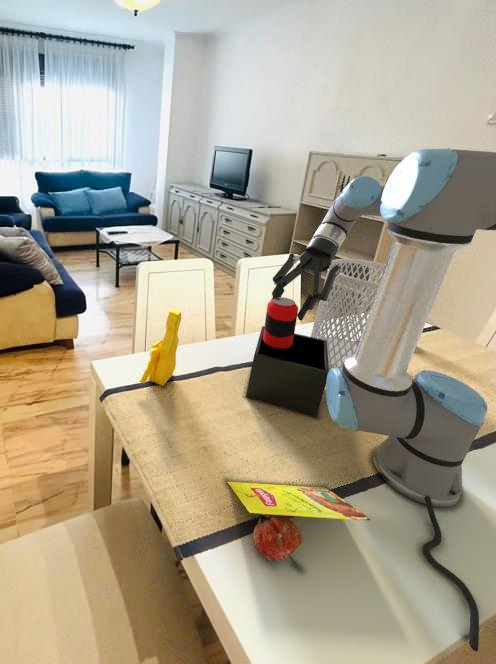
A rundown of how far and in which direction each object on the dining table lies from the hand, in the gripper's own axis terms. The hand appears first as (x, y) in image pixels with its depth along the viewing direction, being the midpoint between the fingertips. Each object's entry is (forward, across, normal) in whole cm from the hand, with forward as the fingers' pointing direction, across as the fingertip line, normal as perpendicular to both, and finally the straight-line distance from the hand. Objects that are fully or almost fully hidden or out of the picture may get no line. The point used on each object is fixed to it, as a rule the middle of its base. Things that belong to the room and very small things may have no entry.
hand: (284, 312), depth 102 cm
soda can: (+7, 0, -5) cm, 9 cm away
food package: (+33, -31, +7) cm, 46 cm away
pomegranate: (+47, -26, +15) cm, 55 cm away
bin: (+16, -4, -16) cm, 23 cm away
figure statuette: (+33, +20, +1) cm, 39 cm away
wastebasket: (-8, -9, -39) cm, 41 cm away
